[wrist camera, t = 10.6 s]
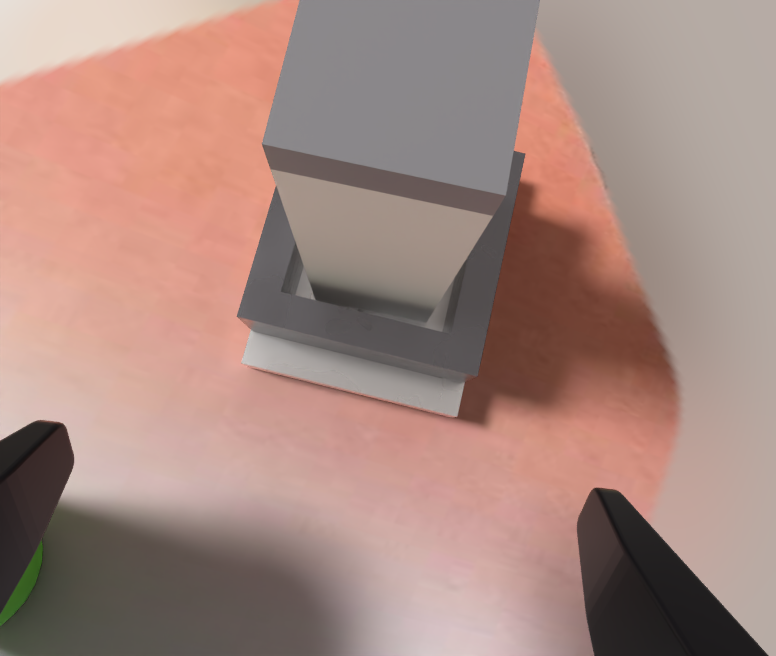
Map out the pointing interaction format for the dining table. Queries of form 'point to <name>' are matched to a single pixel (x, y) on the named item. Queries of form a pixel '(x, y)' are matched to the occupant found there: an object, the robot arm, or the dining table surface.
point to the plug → (396, 141)
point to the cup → (23, 586)
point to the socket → (373, 322)
